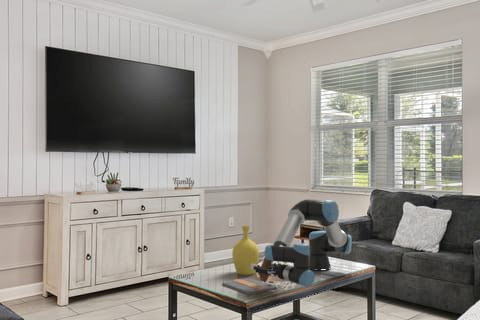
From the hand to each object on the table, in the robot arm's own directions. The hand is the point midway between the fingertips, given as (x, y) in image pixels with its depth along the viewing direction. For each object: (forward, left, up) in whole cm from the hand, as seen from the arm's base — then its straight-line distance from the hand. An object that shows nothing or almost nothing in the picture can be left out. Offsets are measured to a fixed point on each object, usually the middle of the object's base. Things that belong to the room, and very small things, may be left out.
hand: (258, 265), depth 243 cm
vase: (-13, -28, -11) cm, 33 cm away
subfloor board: (+5, -2, -11) cm, 12 cm away
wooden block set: (-1, +6, -6) cm, 8 cm away
